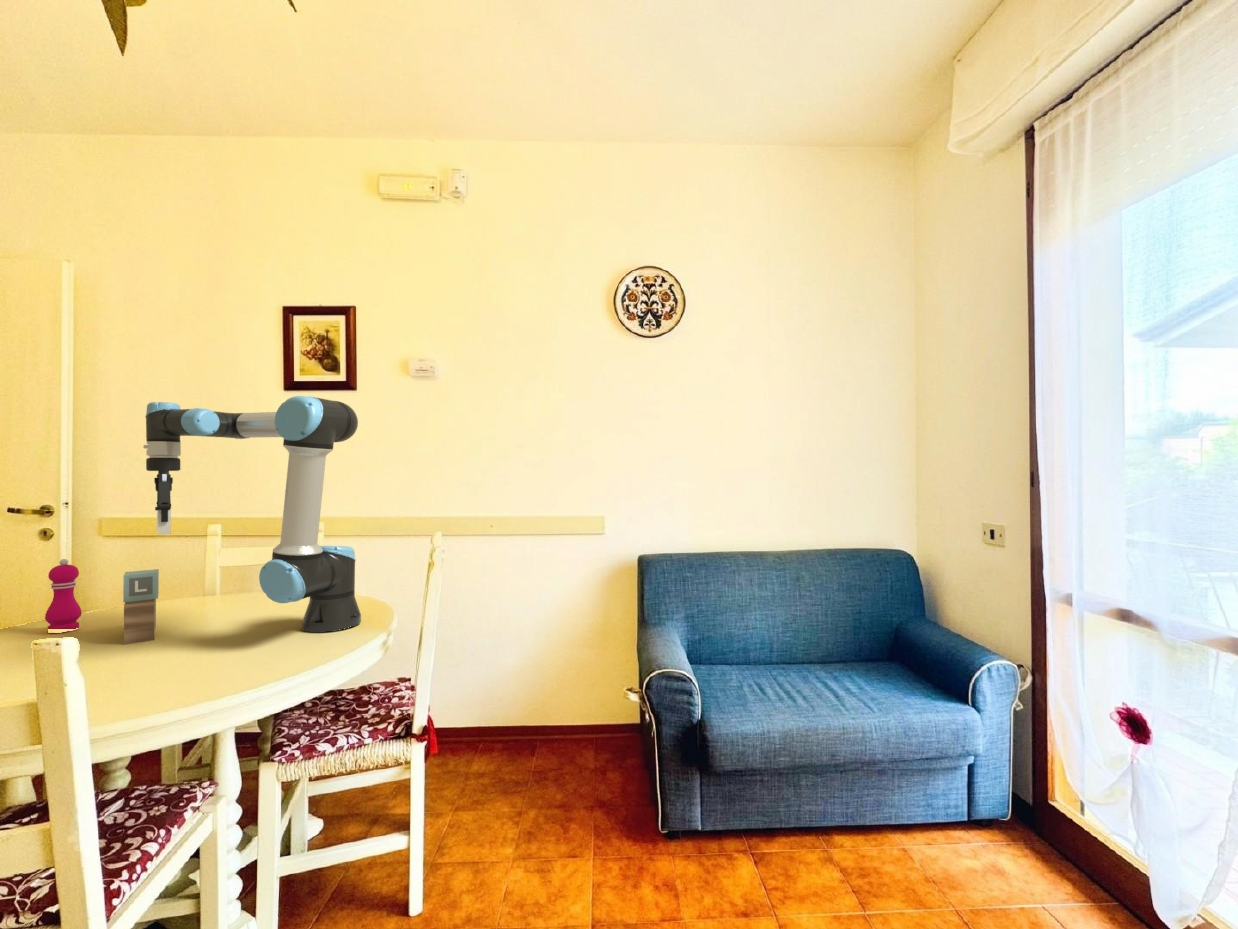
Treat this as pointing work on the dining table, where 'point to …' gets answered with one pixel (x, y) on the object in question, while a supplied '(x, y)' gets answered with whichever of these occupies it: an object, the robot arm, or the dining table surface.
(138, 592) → the letter cube
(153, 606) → the walnut box
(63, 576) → the pepper mill
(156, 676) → the dining table surface
